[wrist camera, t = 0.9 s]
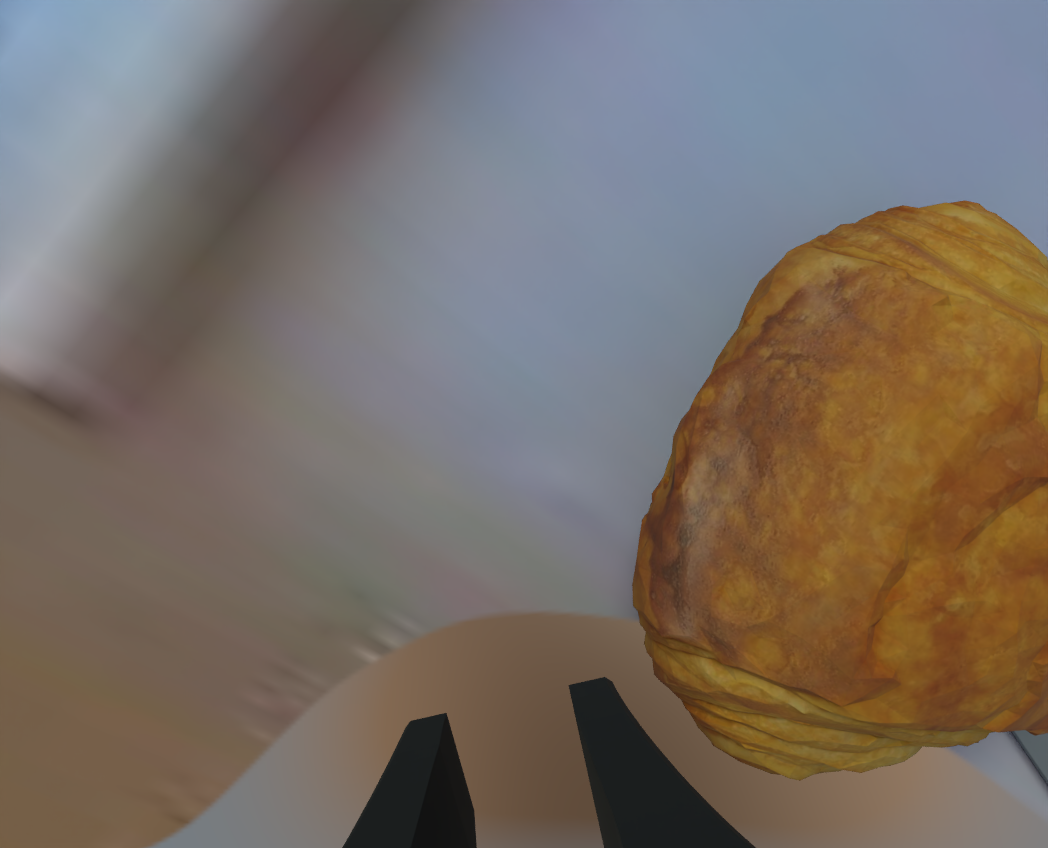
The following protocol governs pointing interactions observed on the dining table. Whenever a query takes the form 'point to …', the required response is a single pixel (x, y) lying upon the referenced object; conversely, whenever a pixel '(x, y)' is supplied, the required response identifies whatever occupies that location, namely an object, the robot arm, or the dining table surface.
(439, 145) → the dining table surface
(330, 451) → the dining table surface
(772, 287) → the croissant
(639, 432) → the dining table surface
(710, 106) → the dining table surface
